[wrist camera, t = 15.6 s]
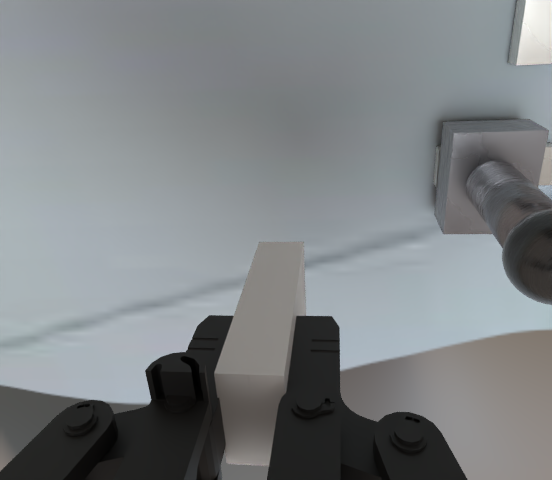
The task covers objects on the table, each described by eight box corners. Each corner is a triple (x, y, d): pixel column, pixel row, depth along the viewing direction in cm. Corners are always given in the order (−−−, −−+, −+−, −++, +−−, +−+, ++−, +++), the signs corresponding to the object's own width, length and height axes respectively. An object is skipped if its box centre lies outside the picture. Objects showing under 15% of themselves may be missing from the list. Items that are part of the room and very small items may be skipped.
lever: (443, 121, 23) (520, 205, 13) (529, 118, 23) (675, 203, 13) (434, 215, 26) (495, 345, 16) (512, 214, 25) (627, 349, 15)
